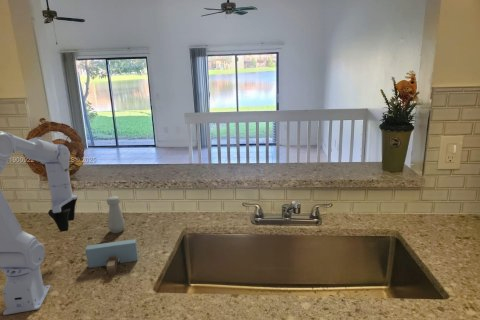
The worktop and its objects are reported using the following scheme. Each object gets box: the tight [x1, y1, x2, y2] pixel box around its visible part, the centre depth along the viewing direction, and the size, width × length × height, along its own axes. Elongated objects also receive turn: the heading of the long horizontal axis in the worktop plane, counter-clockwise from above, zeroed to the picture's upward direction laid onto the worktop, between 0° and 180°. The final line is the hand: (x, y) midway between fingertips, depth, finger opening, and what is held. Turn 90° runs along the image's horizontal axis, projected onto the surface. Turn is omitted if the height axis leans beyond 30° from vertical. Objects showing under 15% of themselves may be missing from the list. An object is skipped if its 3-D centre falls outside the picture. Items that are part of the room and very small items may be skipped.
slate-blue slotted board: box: [85, 238, 139, 269], centre depth 101 cm, size 2×14×6 cm, turn 103°
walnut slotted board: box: [106, 256, 119, 276], centre depth 102 cm, size 14×2×3 cm, turn 13°
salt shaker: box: [106, 195, 126, 234], centre depth 121 cm, size 6×6×13 cm
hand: (67, 225), depth 104 cm, fingers open, 7 cm apart
